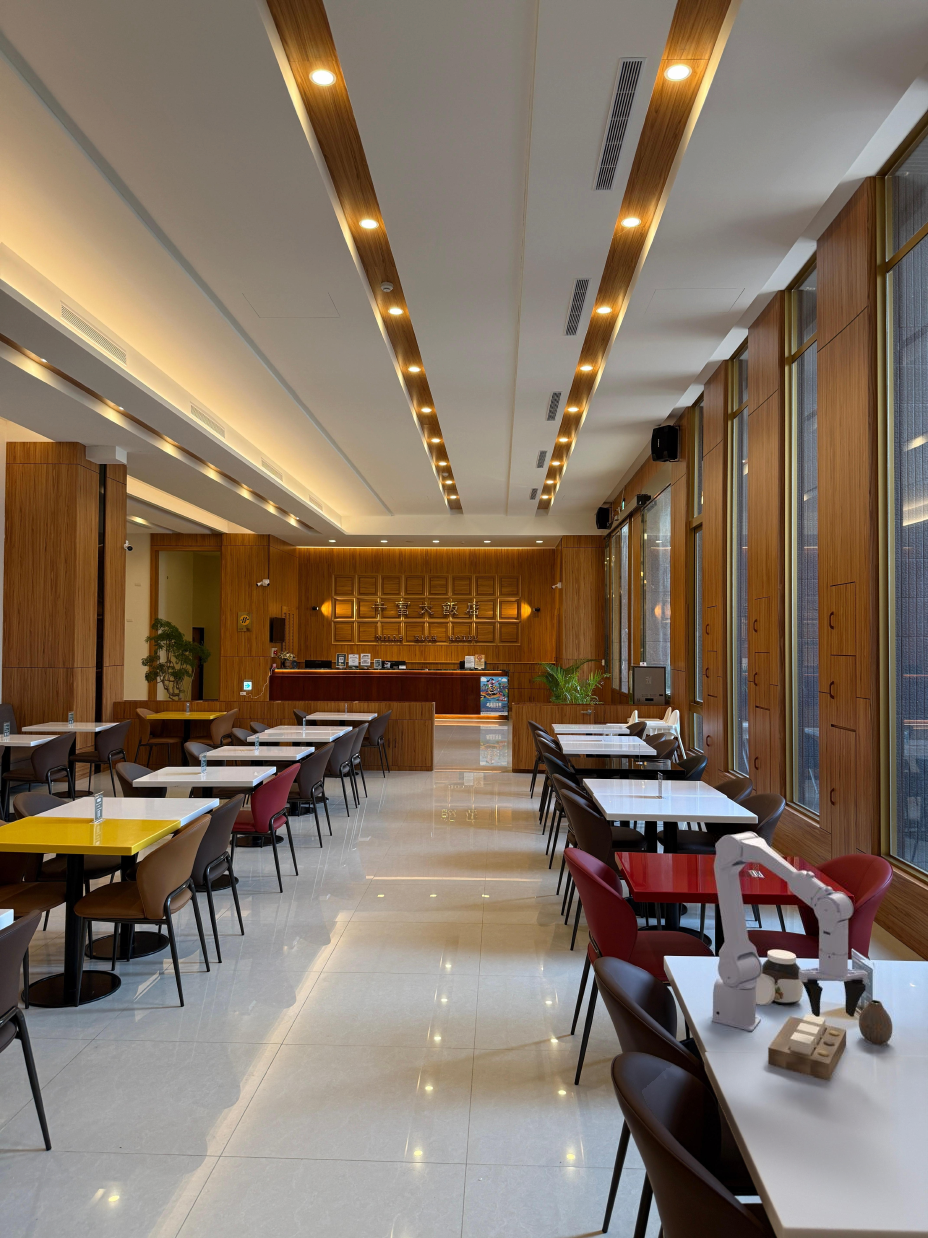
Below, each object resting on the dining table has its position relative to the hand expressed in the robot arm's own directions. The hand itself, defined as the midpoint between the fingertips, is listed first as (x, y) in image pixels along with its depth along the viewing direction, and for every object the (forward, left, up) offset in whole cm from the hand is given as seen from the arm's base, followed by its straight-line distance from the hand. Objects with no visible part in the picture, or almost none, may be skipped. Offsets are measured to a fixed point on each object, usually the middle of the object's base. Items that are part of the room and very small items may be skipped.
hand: (832, 1015), depth 181 cm
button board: (-5, 0, -10) cm, 11 cm away
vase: (+6, +17, -10) cm, 20 cm away
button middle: (-5, 0, -8) cm, 9 cm away
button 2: (-5, +6, -8) cm, 11 cm away
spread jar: (-18, +26, -10) cm, 33 cm away
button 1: (-5, -6, -8) cm, 11 cm away
